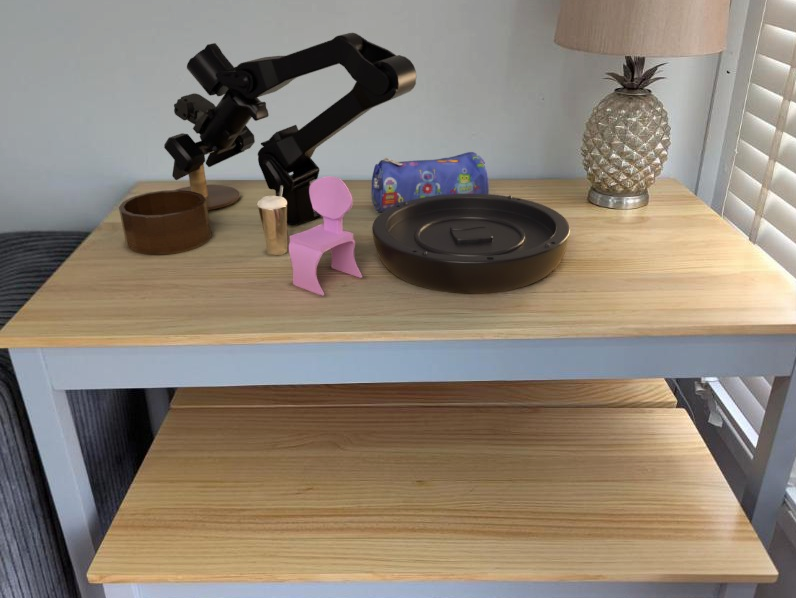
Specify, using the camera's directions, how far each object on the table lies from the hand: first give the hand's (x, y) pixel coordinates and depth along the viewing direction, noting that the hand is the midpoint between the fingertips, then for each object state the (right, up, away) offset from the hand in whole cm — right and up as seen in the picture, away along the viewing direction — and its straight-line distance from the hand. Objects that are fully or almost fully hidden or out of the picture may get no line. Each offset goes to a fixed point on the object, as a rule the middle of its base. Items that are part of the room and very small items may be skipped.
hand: (191, 171), depth 145 cm
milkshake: (+20, -18, -20) cm, 33 cm away
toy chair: (+29, -24, -31) cm, 48 cm away
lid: (+1, -5, +2) cm, 5 cm away
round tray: (+50, -20, -24) cm, 59 cm away
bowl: (0, -15, -15) cm, 21 cm away
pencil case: (+44, -7, -2) cm, 45 cm away
